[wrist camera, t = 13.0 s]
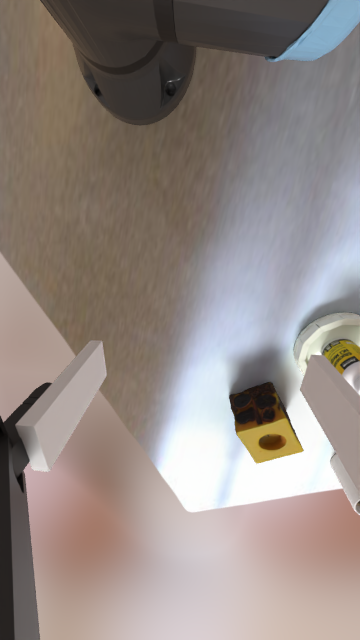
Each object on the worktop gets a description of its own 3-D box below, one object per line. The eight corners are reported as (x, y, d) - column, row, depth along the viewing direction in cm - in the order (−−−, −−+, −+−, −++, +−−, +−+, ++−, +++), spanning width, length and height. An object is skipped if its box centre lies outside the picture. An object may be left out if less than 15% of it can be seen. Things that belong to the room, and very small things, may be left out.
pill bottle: (330, 332, 42) (370, 368, 32) (361, 341, 43) (410, 380, 33) (313, 358, 45) (345, 399, 35) (341, 367, 45) (382, 410, 35)
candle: (228, 395, 52) (233, 432, 43) (271, 379, 49) (286, 416, 40) (245, 424, 55) (254, 465, 46) (287, 411, 53) (305, 452, 43)
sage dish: (304, 310, 42) (310, 316, 40) (389, 314, 41) (401, 321, 39) (286, 375, 48) (290, 384, 46) (359, 380, 47) (368, 390, 45)
